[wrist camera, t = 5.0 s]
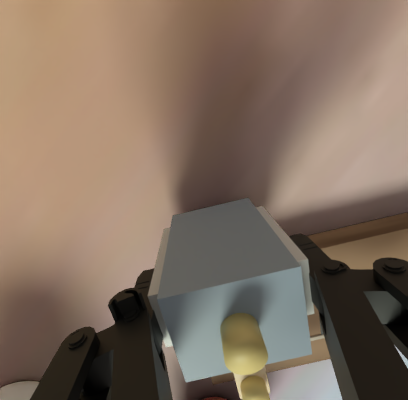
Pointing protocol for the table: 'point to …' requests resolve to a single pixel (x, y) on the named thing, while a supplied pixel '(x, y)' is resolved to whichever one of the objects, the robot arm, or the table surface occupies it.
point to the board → (356, 259)
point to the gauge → (232, 296)
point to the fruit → (214, 398)
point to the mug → (18, 390)
